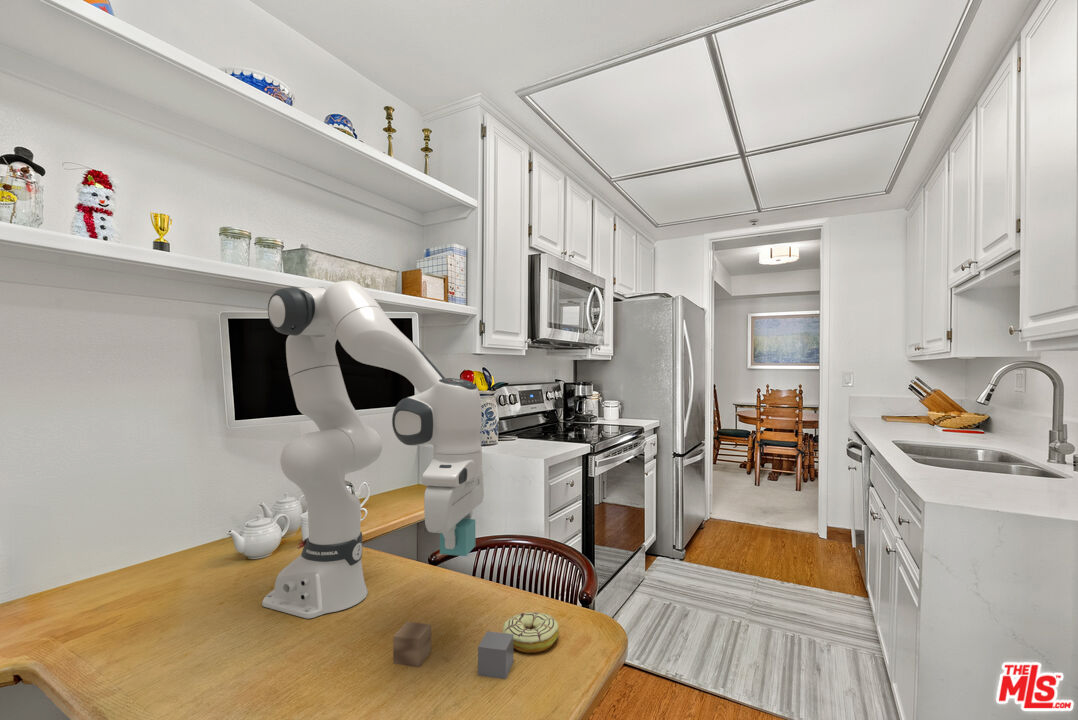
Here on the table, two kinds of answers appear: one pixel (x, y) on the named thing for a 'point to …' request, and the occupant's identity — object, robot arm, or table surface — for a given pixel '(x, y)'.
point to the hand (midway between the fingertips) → (457, 541)
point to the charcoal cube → (495, 655)
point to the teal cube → (461, 539)
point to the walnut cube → (412, 644)
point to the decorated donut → (532, 631)
